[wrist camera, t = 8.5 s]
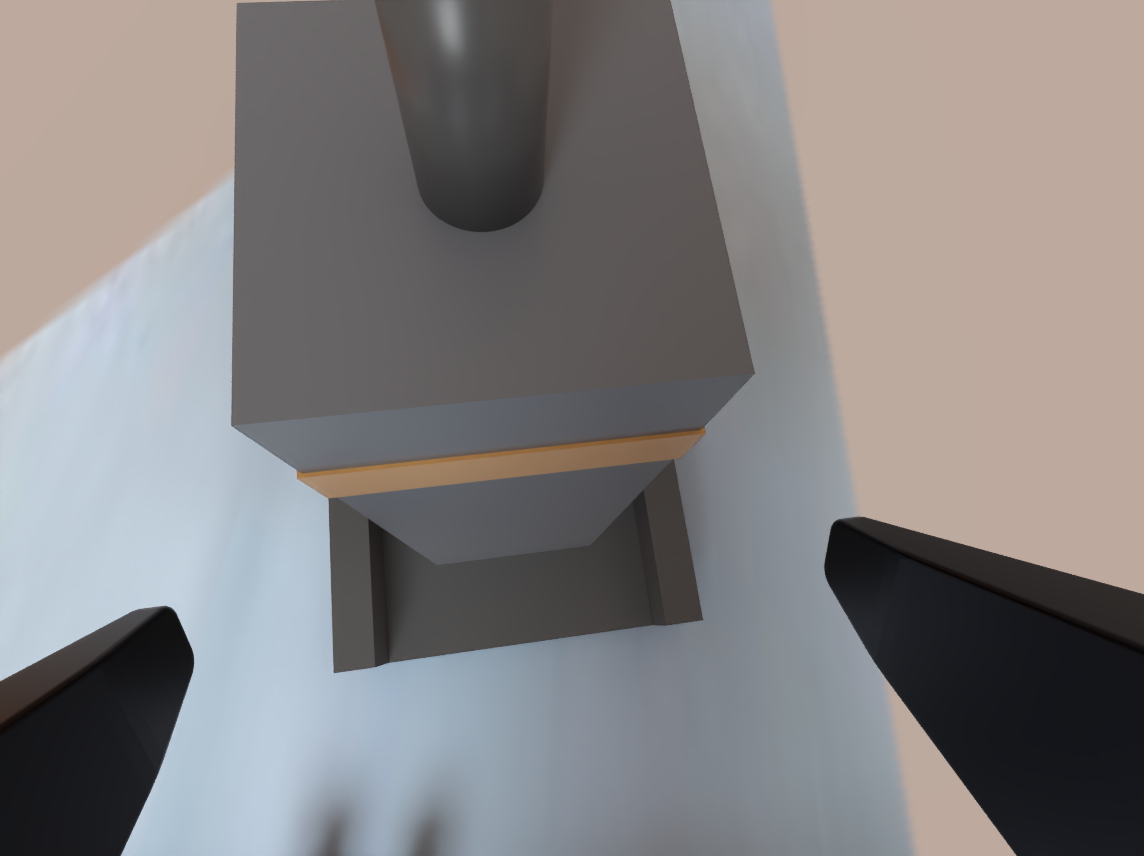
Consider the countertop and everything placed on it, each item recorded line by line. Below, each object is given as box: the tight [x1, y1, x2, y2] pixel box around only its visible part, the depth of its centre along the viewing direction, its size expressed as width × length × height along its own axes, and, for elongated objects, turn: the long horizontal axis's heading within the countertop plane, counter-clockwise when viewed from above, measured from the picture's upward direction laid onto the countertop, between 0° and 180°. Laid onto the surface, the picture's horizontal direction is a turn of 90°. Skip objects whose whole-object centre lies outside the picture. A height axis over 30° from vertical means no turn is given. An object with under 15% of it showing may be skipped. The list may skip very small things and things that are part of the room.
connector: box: [231, 0, 755, 565], centre depth 12 cm, size 5×5×16 cm
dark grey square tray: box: [329, 459, 703, 673], centre depth 19 cm, size 10×10×2 cm
